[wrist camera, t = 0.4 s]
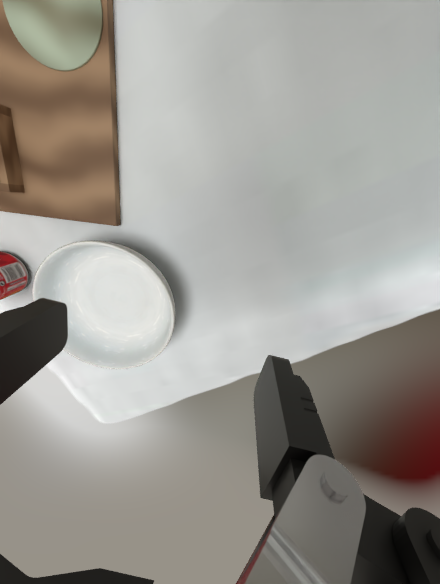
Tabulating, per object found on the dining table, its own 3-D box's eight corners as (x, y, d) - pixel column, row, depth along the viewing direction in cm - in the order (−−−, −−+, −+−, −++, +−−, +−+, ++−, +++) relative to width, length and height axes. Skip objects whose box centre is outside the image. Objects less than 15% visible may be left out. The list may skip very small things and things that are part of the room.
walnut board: (-133, -96, 25) (-196, -148, 21) (110, -62, 25) (89, -107, 21) (-48, 203, 36) (-80, 203, 32) (120, 224, 36) (108, 227, 32)
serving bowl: (63, 332, 44) (35, 355, 38) (62, 219, 36) (27, 223, 30) (172, 356, 45) (162, 382, 39) (193, 252, 37) (186, 263, 31)
